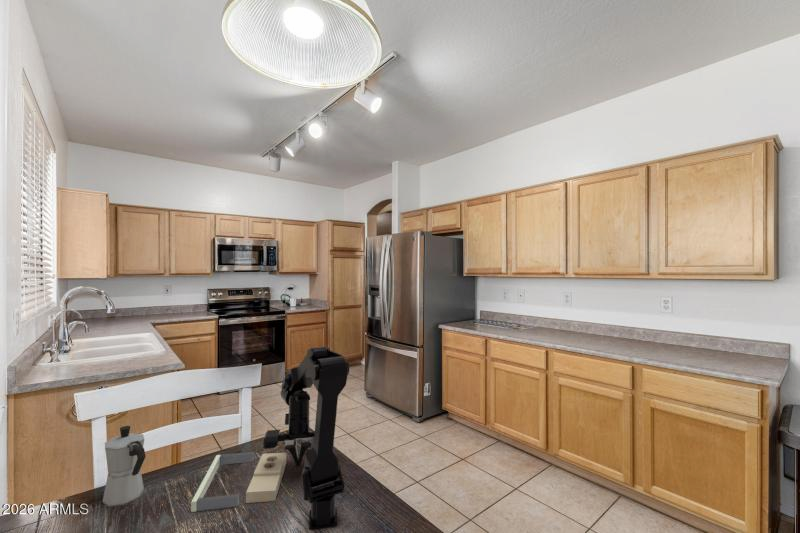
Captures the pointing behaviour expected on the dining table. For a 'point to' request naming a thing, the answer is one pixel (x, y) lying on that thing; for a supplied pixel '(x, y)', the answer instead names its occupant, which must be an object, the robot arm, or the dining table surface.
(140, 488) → the coffee maker
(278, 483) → the electrical outlet
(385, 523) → the dining table surface
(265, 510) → the dining table surface
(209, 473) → the bracket rack
